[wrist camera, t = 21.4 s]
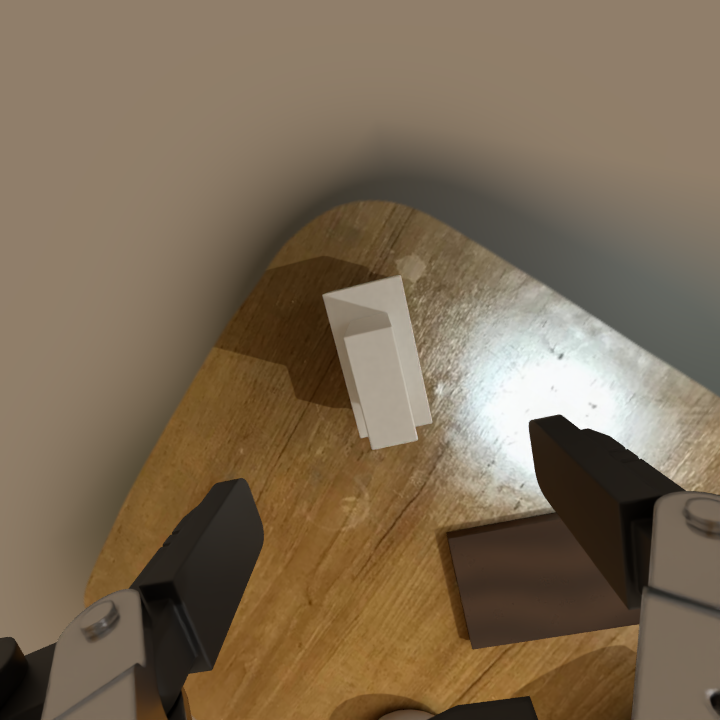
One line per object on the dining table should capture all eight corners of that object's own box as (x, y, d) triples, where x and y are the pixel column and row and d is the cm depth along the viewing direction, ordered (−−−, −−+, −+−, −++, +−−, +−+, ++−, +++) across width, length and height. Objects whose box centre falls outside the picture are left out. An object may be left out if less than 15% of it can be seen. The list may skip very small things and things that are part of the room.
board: (446, 532, 31) (448, 538, 30) (641, 496, 30) (648, 502, 29) (470, 641, 34) (472, 649, 33) (650, 613, 32) (656, 621, 31)
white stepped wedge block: (362, 415, 29) (356, 489, 19) (329, 291, 27) (304, 302, 17) (424, 402, 28) (451, 470, 19) (396, 274, 26) (410, 276, 16)
